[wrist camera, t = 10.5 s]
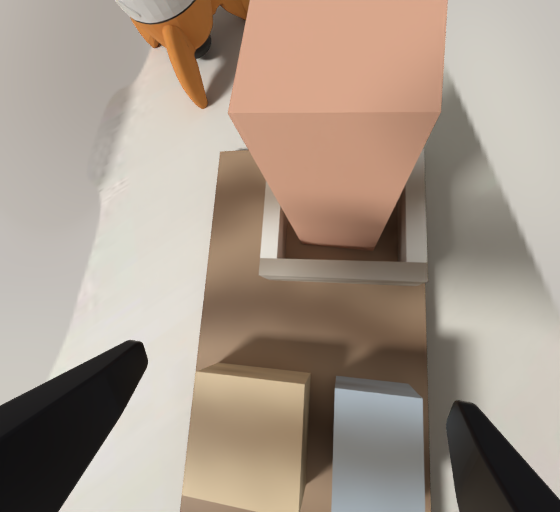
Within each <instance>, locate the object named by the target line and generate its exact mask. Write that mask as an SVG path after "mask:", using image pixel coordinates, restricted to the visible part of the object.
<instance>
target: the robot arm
mask: <svg viewBox="0 0 560 512" xmlns="http://www.w3.org/2000/svg"><path fill="white" fill-rule="evenodd" d="M147 365H148V358H147V355H146V352H145V348H144V345H143V343H142V342H140V341H135V340H128V341H125V342H124V343H122V344H120V345H118V346H116V347H114V348H112V349H110V350H108V351H106V352H104V353H102V354H100V355H98V356H96V357H94V358H92V359H90V360H88V361H86V362H84V363H83V364H81V365H79V366H77V367H75V368H73V369H71V370H69V371H67V372H65V373H63V374H61V375H59V376H57V377H55V378H53V379H51V380H49V381H47V382H45V383H43V384H42V385H40V386H38V387H36V388H34V389H32V390H30V391H28V392H26V393H24V394H22V395H20V396H18V397H16V398H14V399H12V400H10V401H8V402H6V403H4V404H2V405H1V406H0V512H59V510H60V508H61V507H62V505H63V504H64V502H65V501H66V499H67V498H68V496H69V495H70V493H71V492H72V490H73V489H74V487H75V485H76V484H77V482H78V481H79V479H80V478H81V476H82V475H83V473H84V472H85V470H86V469H87V467H88V466H89V464H90V462H91V461H92V459H93V458H94V456H95V455H96V453H97V452H98V450H99V449H100V447H101V446H102V444H103V442H104V441H105V439H106V438H107V436H108V435H109V433H110V432H111V430H112V429H113V427H114V426H115V424H116V423H117V421H118V419H119V418H120V416H121V414H122V413H123V411H124V409H125V407H126V406H127V404H128V402H129V400H130V398H131V396H132V394H133V393H134V391H135V389H136V387H137V385H138V383H139V381H140V379H141V378H142V376H143V374H144V372H145V370H146V368H147ZM446 429H447V437H448V444H449V451H450V458H451V465H452V472H453V479H454V486H455V492H456V498H457V503H458V507H459V512H560V499H559V498H558V497H557V496H556V495H555V494H554V493H553V491H552V490H551V489H550V488H549V487H548V486H547V485H546V484H545V482H544V481H543V480H542V479H541V478H540V477H539V476H538V474H537V473H536V472H535V471H534V470H533V469H532V468H531V467H530V465H529V464H528V463H527V462H526V461H525V460H524V459H523V457H522V456H521V455H520V454H519V453H518V452H517V451H516V450H515V448H514V447H513V446H512V445H511V444H510V443H509V442H508V441H507V439H506V438H505V437H504V436H503V435H502V434H501V433H500V431H499V430H498V429H497V428H496V427H495V426H494V425H493V424H492V422H491V421H490V420H489V419H488V418H487V417H486V416H485V414H484V413H483V412H482V411H481V410H480V409H479V408H478V407H477V406H476V405H475V404H473V403H471V402H465V401H460V400H456V401H455V402H454V403H453V406H452V408H451V411H450V414H449V416H448V419H447V423H446Z"/></svg>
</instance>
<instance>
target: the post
mask: <svg viewBox="0 0 560 512" xmlns="http://www.w3.org/2000/svg"><path fill="white" fill-rule="evenodd" d="M447 3H448V0H250V2H249V7H248V12H247V17H246V22H245V28H244V33H243V38H242V43H241V48H240V53H239V58H238V63H237V68H236V74H235V79H234V84H233V89H232V94H231V99H230V104H229V109H228V115H229V116H230V118H231V120H232V122H233V123H234V125H235V127H236V129H237V130H238V132H239V134H240V136H241V137H242V139H243V141H244V143H245V145H246V146H247V148H248V150H249V152H250V153H251V155H252V157H253V159H254V160H255V162H256V164H257V166H258V167H259V169H260V171H261V173H262V174H263V176H264V178H265V180H266V181H267V183H268V185H269V187H270V188H271V190H272V192H273V194H274V196H275V197H276V199H277V201H278V203H279V204H280V206H281V208H282V210H283V211H284V213H285V215H286V217H287V218H288V220H289V222H290V224H291V225H292V227H293V229H294V231H295V232H296V234H297V236H298V238H299V239H300V241H301V243H302V244H308V245H318V246H328V247H338V248H348V249H359V250H369V251H373V250H374V248H375V246H376V244H377V242H378V240H379V238H380V236H381V234H382V231H383V229H384V227H385V225H386V223H387V221H388V219H389V217H390V215H391V213H392V211H393V209H394V207H395V205H396V203H397V201H398V199H399V197H400V195H401V193H402V190H403V188H404V186H405V184H406V182H407V180H408V178H409V176H410V174H411V172H412V170H413V168H414V166H415V164H416V162H417V160H418V158H419V156H420V154H421V152H422V150H423V147H424V145H425V143H426V141H427V139H428V137H429V135H430V133H431V131H432V129H433V127H434V125H435V123H436V121H437V119H438V117H439V115H440V113H441V102H442V85H443V69H444V52H445V36H446V20H447Z"/></svg>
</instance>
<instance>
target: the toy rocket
mask: <svg viewBox="0 0 560 512" xmlns="http://www.w3.org/2000/svg"><path fill="white" fill-rule="evenodd" d="M115 2H116V3H117V4H118V5H119V6H120V7H121V8H122V9H123V11H125V12H126V13H127V14H128V15H129V16H130V18H131V20H132V22H133V23H134V25H135V26H136V28H137V29H138V31H139V32H140V34H141V35H142V36H143V38H144V39H145V40H146V41H147V42H148V43H149V44H150V45H151V46H152V47H153V48H156V47H157V46H158V45H159V43H160V44H161V45H162V46H164V47H165V48H167V52H168V55H169V58H170V61H171V63H172V66H173V69H174V71H175V73H176V76H177V78H178V80H179V82H180V84H181V85H182V87H183V89H184V90H185V92H186V93H187V95H188V96H189V97H190V99H191V100H192V101H193V102H194V103H195V104H196V105H197V106H198V107H200V108H201V109H204V108H206V106H207V104H208V102H207V98H206V94H205V90H204V86H203V83H202V79H201V75H200V71H199V67H198V64H197V61H196V59H197V58H199V57H201V56H203V55H204V54H205V53H206V52H207V51H208V50H209V48H210V45H211V37H210V32H211V29H212V25H213V14H215V12H216V10H217V7H218V6H219V5H221V6H222V7H223V8H224V9H225V10H226V11H228V12H229V13H232V14H234V15H236V16H238V17H240V18H242V19H244V20H246V17H247V12H248V7H249V2H250V0H115Z"/></svg>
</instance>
